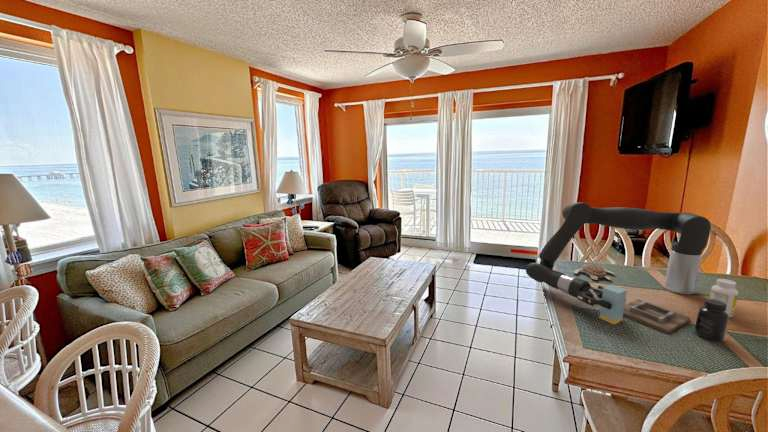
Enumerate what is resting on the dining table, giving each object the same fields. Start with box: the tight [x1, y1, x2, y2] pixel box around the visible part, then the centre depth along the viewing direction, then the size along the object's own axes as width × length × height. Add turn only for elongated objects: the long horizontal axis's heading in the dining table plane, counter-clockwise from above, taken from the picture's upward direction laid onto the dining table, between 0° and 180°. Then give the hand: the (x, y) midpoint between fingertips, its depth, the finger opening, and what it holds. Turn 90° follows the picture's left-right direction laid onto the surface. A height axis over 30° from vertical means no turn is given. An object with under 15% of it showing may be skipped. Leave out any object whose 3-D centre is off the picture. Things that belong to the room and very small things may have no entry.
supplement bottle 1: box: [708, 278, 739, 318], centre depth 112 cm, size 7×7×13 cm
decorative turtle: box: [572, 263, 615, 281], centre depth 149 cm, size 18×17×5 cm
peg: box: [598, 284, 628, 325], centre depth 110 cm, size 5×5×12 cm
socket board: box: [623, 298, 692, 335], centre depth 112 cm, size 16×16×3 cm
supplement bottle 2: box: [693, 298, 730, 342], centre depth 99 cm, size 7×7×12 cm
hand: (618, 303), depth 109 cm, fingers open, 8 cm apart
